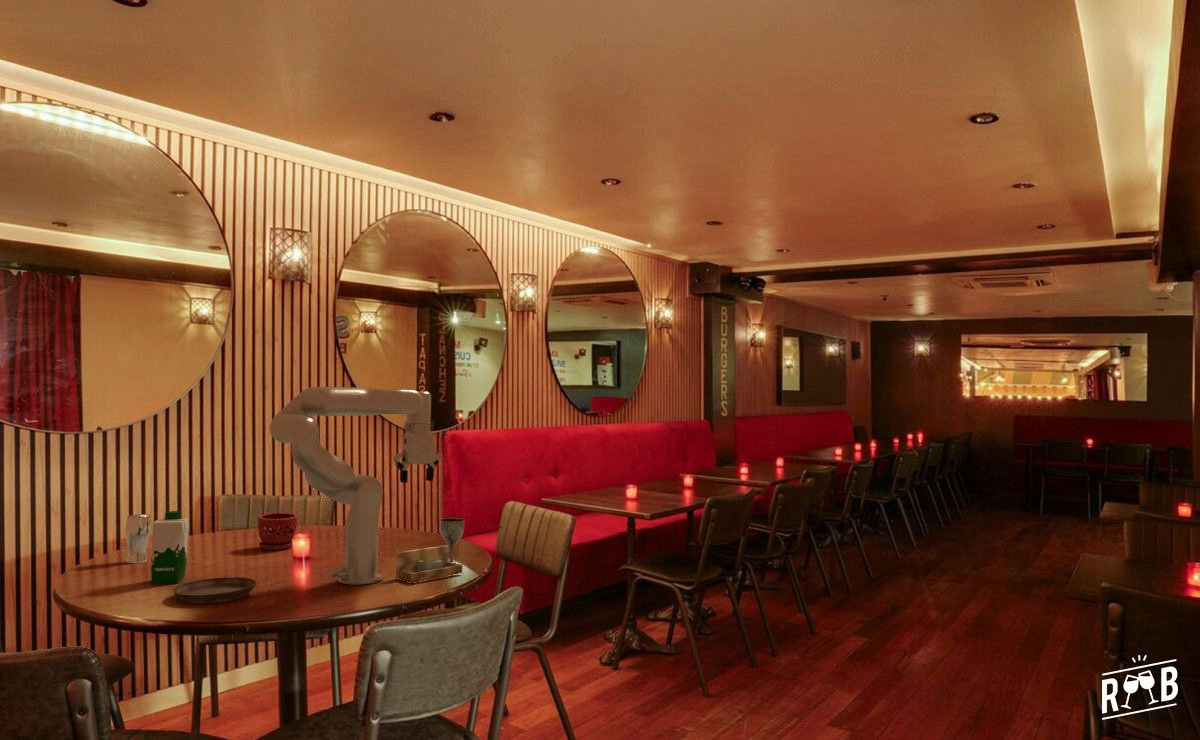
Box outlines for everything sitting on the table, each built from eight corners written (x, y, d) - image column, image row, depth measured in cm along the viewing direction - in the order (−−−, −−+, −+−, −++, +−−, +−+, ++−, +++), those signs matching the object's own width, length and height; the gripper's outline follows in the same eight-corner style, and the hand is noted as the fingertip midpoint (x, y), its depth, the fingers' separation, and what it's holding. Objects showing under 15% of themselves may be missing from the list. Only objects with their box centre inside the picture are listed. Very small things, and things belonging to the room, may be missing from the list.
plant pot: (248, 550, 267) (250, 516, 268) (274, 543, 280) (275, 511, 280) (279, 553, 264) (280, 518, 264) (303, 546, 276) (305, 513, 277)
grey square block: (426, 580, 228) (427, 550, 229) (416, 577, 232) (417, 548, 232) (442, 577, 233) (443, 547, 233) (433, 574, 236) (434, 545, 237)
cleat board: (412, 584, 223) (413, 557, 223) (396, 578, 229) (396, 552, 229) (462, 574, 236) (462, 549, 236) (445, 570, 242) (446, 545, 243)
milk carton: (188, 577, 226) (191, 510, 227) (180, 584, 217) (183, 515, 218) (156, 578, 224) (159, 511, 225) (146, 585, 215) (149, 515, 216)
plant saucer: (162, 595, 206) (162, 583, 206) (240, 584, 220) (241, 572, 220) (185, 611, 191) (185, 598, 191) (267, 598, 205) (268, 585, 206)
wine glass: (450, 568, 245) (451, 522, 245) (434, 564, 249) (435, 519, 250) (468, 564, 251) (469, 519, 252) (452, 561, 256) (453, 517, 256)
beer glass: (153, 560, 249) (155, 514, 249) (138, 564, 242) (141, 517, 242) (134, 559, 249) (136, 513, 250) (118, 563, 242) (121, 516, 243)
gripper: (401, 429, 235) (399, 484, 234) (447, 429, 248) (445, 481, 247) (388, 428, 240) (387, 482, 240) (434, 428, 253) (432, 479, 252)
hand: (416, 481), depth 243 cm, fingers open, 9 cm apart
